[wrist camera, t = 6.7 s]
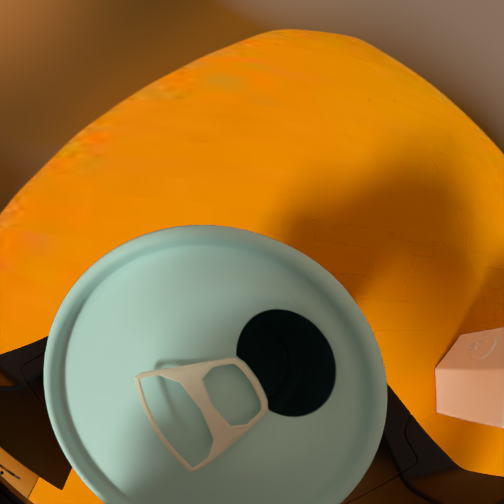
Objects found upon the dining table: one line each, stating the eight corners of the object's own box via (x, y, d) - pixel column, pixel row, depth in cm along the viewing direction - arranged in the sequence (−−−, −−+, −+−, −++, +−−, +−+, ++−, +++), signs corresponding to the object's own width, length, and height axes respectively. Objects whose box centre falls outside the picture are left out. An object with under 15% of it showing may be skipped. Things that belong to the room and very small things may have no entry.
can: (210, 283, 16) (120, 146, 5) (321, 330, 15) (465, 280, 4) (162, 388, 14) (0, 434, 3) (272, 437, 13) (301, 590, 2)
